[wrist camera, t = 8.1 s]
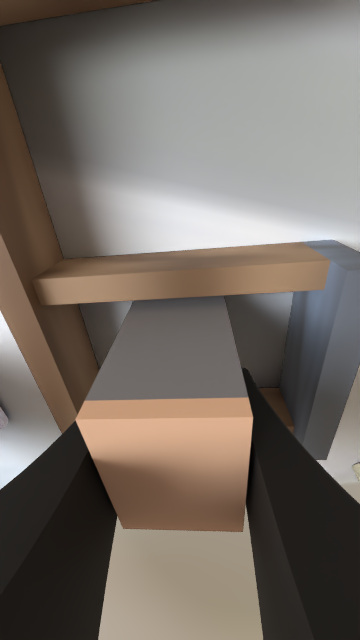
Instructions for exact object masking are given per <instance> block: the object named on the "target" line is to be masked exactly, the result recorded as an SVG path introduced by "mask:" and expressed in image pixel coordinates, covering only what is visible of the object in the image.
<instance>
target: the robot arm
mask: <svg viewBox="0 0 360 640" xmlns="http://www.w3.org/2000/svg"><path fill="white" fill-rule="evenodd" d="M241 369H242V373H243V377H244V381H245V386H246V390H247V394H248V398H249V402H250V406H251V411H252V415H253V424H252V436H251V447H250V458H249V469H248V481H247V492H246V508H247V514H248V521H249V529H250V536H251V544H252V551H253V559H254V567H255V575H256V582H257V590H258V598H259V607H260V615H261V623H262V631H263V640H360V504H359V503H358V502H357V501H356V500H355V499H354V498H353V497H351V495H349V494H348V493H347V492H346V491H345V490H344V489H343V488H342V487H341V486H340V485H339V484H338V483H337V482H336V481H335V480H334V479H333V478H332V477H331V476H330V475H329V474H328V473H327V472H326V470H325V469H324V468H323V467H322V466H321V465H320V464H319V463H318V462H317V461H316V460H315V459H314V458H313V457H312V455H311V454H310V453H309V452H308V451H307V450H306V449H305V448H304V447H303V445H302V444H301V443H300V442H299V441H298V440H297V438H296V437H295V436H294V435H293V434H292V432H291V431H290V430H289V429H288V428H287V426H286V425H285V424H284V423H283V421H282V420H281V419H280V417H279V416H278V415H277V413H276V412H275V411H274V409H273V408H272V407H271V405H270V404H269V403H268V401H267V400H266V398H265V397H264V396H263V394H262V393H261V391H260V390H259V388H258V387H257V385H256V383H255V382H254V380H253V379H252V377H251V375H250V373H249V372H248V370H247V369H246V368H241ZM7 424H8V418H7V417H6V415H5V413H4V412H3V410H2V409H1V407H0V428H4V427H5V426H6V425H7ZM116 520H117V513H116V511H115V509H114V507H113V504H112V502H111V500H110V497H109V495H108V493H107V491H106V488H105V486H104V484H103V482H102V479H101V477H100V475H99V472H98V470H97V468H96V466H95V463H94V461H93V459H92V456H91V454H90V452H89V450H88V447H87V445H86V443H85V441H84V438H83V436H82V434H81V431H80V429H79V427H78V425H77V422H76V420H75V421H74V422H73V423H72V424H71V425H70V426H69V427H68V429H67V430H66V431H65V432H64V433H63V434H62V435H61V436H60V437H59V438H58V439H57V440H56V441H55V442H54V443H53V444H52V445H51V446H50V447H49V448H48V449H47V450H46V451H45V452H43V453H42V454H41V455H40V456H39V457H38V458H37V459H36V460H35V461H34V462H33V463H31V464H30V465H29V466H28V467H27V468H26V469H25V470H24V471H22V472H21V473H20V474H19V475H18V476H16V477H15V478H14V479H13V480H12V481H10V482H9V483H8V484H7V485H6V486H4V487H3V488H2V489H1V490H0V640H98V636H99V627H100V621H101V615H102V607H103V601H104V594H105V587H106V581H107V574H108V568H109V561H110V556H111V550H112V543H113V538H114V532H115V527H116Z"/></svg>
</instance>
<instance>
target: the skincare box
mask: <svg viewBox="0 0 360 640" xmlns="http://www.w3.org/2000/svg"><path fill="white" fill-rule="evenodd" d="M352 468H353V470H354V472H355V474H356V476H357V478H358V480H359V481H360V463H358V464H355V465H353V466H352Z"/></svg>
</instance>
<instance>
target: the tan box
mask: <svg viewBox="0 0 360 640" xmlns="http://www.w3.org/2000/svg"><path fill="white" fill-rule="evenodd" d="M75 420H76V422H77V425H78V427H79V429H80V431H81V434H82V436H83V438H84V441H85V443H86V445H87V447H88V450H89V452H90V454H91V456H92V459H93V461H94V463H95V466H96V468H97V470H98V472H99V475H100V477H101V479H102V482H103V484H104V486H105V488H106V491H107V493H108V495H109V497H110V500H111V502H112V504H113V507H114V509H115V511H116V513H117V516H118V518H119V520H120V522H121V525H122V527H123V529H153V530H154V529H156V530H190V531H191V530H192V531H228V532H229V531H230V532H243V526H244V515H245V503H246V492H247V481H248V469H249V458H250V447H251V436H252V424H253V415H252V411H251V406H250V402H249V398H248V394H247V390H246V386H245V381H244V377H243V373H242V369H241V365H240V360H239V356H238V352H237V348H236V344H235V340H234V335H233V331H232V327H231V323H230V319H229V315H228V310H227V306H226V302H225V298H224V295H221V296H203V297H185V298H167V299H149V300H134V301H133V303H132V305H131V307H130V310H129V312H128V314H127V316H126V318H125V320H124V322H123V324H122V326H121V328H120V330H119V332H118V334H117V336H116V338H115V340H114V342H113V344H112V346H111V348H110V350H109V352H108V354H107V356H106V358H105V360H104V362H103V364H102V366H101V368H100V370H99V372H98V375H97V377H96V379H95V381H94V383H93V385H92V387H91V389H90V391H89V393H88V395H87V397H86V399H85V401H84V403H83V405H82V407H81V409H80V411H79V413H78V415H77V417H76V419H75Z"/></svg>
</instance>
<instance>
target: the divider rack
mask: <svg viewBox="0 0 360 640" xmlns="http://www.w3.org/2000/svg"><path fill="white" fill-rule="evenodd" d="M149 1H155V0H0V26H2V25H8V24H14V23H20V22H26V21H32V20H39V19H45V18H51V17H57V16H63V15H69V14H75V13H81V12H88V11H94V10H100V9H106V8H112V7H118V6H124V5H130V4H137V3H143V2H149ZM293 291H294V294H293V300H292V307H291V313H290V320H289V326H288V333H287V339H286V346H285V353H284V359H283V366H282V372H281V379H280V385H279V388H259V390H260V391H261V393H262V394H263V396H264V397H265V398H266V400H267V401H268V403H269V404H270V405H271V407H272V408H273V409H274V411H275V412H276V413H277V415H278V416H279V417H280V419H281V420H282V421H283V423H284V424H285V425H286V426H287V428H288V429H289V430H290V431H291V432H292V434H293V435H294V436H295V437H296V438H297V440H298V441H299V442H300V443H301V444H302V445H303V447H304V448H305V449H306V450H307V451H308V452H309V453H310V454H311V455H312V457H313V458H314V459H315V460H326V459H327V456H328V454H329V451H330V448H331V445H332V442H333V439H334V436H335V433H336V431H337V428H338V425H339V422H340V419H341V416H342V413H343V411H344V408H345V405H346V402H347V399H348V396H349V393H350V391H351V388H352V385H353V382H354V379H355V376H356V373H357V370H358V368H359V365H360V252H358V251H356V250H354V249H351V248H349V247H347V246H345V245H343V244H341V243H339V242H336V241H334V240H323V241H309V242H295V243H282V244H268V245H254V246H240V247H226V248H212V249H199V250H185V251H171V252H157V253H143V254H129V255H116V256H102V257H88V258H74V259H63V256H62V253H61V250H60V246H59V243H58V240H57V237H56V234H55V231H54V228H53V225H52V222H51V218H50V215H49V212H48V209H47V206H46V203H45V200H44V197H43V193H42V190H41V187H40V184H39V181H38V178H37V175H36V172H35V169H34V165H33V162H32V159H31V156H30V153H29V150H28V147H27V144H26V141H25V137H24V134H23V131H22V128H21V125H20V122H19V119H18V116H17V112H16V109H15V106H14V103H13V100H12V97H11V94H10V91H9V88H8V84H7V81H6V78H5V75H4V72H3V69H2V66H1V63H0V311H1V313H2V315H3V317H4V319H5V321H6V323H7V325H8V327H9V329H10V331H11V333H12V335H13V337H14V339H15V341H16V343H17V345H18V347H19V349H20V351H21V353H22V355H23V357H24V359H25V361H26V363H27V365H28V367H29V369H30V371H31V373H32V375H33V377H34V379H35V381H36V383H37V385H38V387H39V389H40V391H41V393H42V395H43V397H44V399H45V401H46V403H47V405H48V407H49V409H50V411H51V413H52V415H53V417H54V419H55V421H56V423H57V425H58V427H59V429H60V431H61V433H62V434H63V433H64V432H65V431H66V430H67V429H68V427H69V426H70V425H71V424H72V423H73V422H74V421H75V419H76V417H77V415H78V413H79V411H80V409H81V407H82V405H83V403H84V401H85V399H86V397H87V395H88V393H89V391H90V389H91V387H92V385H93V383H94V381H95V379H96V377H97V375H98V372H99V368H98V365H97V362H96V359H95V355H94V352H93V349H92V346H91V343H90V340H89V337H88V334H87V331H86V327H85V324H84V321H83V318H82V315H81V312H80V309H79V306H78V303H95V302H113V301H131V300H149V299H167V298H185V297H203V296H221V295H239V294H257V293H275V292H293Z"/></svg>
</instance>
